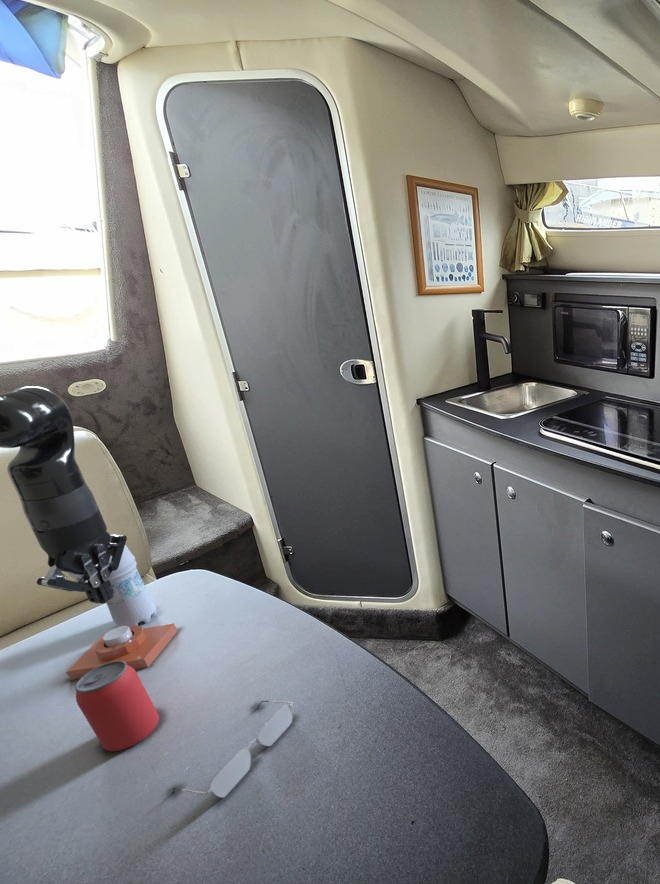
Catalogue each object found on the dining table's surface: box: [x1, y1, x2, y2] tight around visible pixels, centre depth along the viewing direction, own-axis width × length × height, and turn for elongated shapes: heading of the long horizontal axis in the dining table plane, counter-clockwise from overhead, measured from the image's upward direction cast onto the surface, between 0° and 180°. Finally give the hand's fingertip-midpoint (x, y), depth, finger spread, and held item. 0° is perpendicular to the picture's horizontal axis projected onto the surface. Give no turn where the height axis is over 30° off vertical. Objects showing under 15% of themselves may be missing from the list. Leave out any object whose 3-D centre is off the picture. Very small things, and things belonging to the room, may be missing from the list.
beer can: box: [74, 661, 160, 752], centre depth 74 cm, size 7×7×12 cm
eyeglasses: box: [172, 700, 294, 798], centre depth 72 cm, size 14×8×4 cm, turn 166°
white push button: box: [103, 626, 133, 647], centre depth 89 cm, size 4×4×2 cm
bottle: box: [105, 544, 157, 627], centre depth 96 cm, size 7×7×20 cm
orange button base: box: [65, 623, 178, 681], centre depth 90 cm, size 12×9×4 cm
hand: (103, 600), depth 84 cm, fingers closed
